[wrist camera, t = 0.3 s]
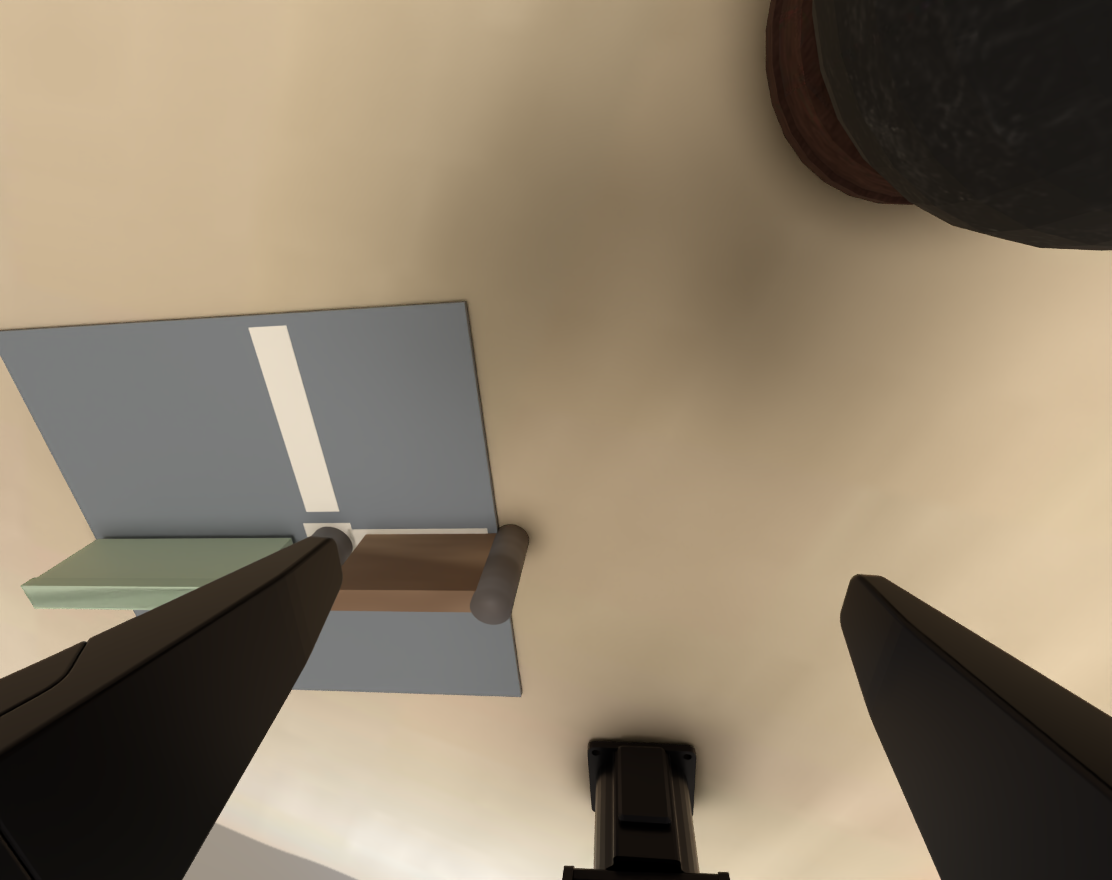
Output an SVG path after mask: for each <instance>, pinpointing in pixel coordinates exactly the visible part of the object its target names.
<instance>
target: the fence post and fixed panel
mask: <svg viewBox="0 0 1112 880" xmlns="http://www.w3.org/2000/svg"><path fill="white" fill-rule="evenodd" d="M312 536H324V537H332V538H333V539H335V541H336V543H337V546H338V551H339V556H340V561H341V567H342V572H343V581H342V585H341V588H340V591H339V593H338V595H337V597H336V599H335V602H334V604H333V606H332V608H331V611H392V612H471V613H472V614H473V616H474V617H475V618H476V619H478V620H479V621H481V622H483V623H485V624H490V625H498V624H502V623H504V622H506V621H507V620H508V619H509V618H510V616H511V613H512V609H513V605H514V601H515V597H516V593H517V589H518V585H519V581H520V577H521V573H522V569H523V565H524V561H525V556H526V552H527V548H528V544H529V537H528V535H527V533H526V532H525V531H524V530H523V529H522V528H520V527H518V526H515V525H505V526H502V527H500V528H499V529H498V532H497V533H488V534H366V535H365V536H364V537H363V539H362V540H361V541H360V543H359V544H358V545H357V547H356V548H355V549H354V551H353V546H352V542H351V540H350V538H349V537H348V536H347V535H346V534H345V533H344V532H343V531H341V530H339V529H337V528H334V527H321V528H319V529H317V530H316V531H315V532H314V533H313V534H312ZM352 551H353V552H352Z"/></svg>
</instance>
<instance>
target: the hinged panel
mask: <svg viewBox="0 0 1112 880" xmlns="http://www.w3.org/2000/svg"><path fill="white" fill-rule="evenodd" d="M292 544H293V542H292V539H291V538H182V539H97V540H95V541H94V542H92V543H90V544H89V545H87V546H86V547H84V548H83V549H81V550H79V551H78V552H76V553H75V554H73V555H72V556H70V557H69V558H67V559H65V560H64V561H62V562H61V563H59V564H58V565H56V566H54V567H53V568H51V569H50V570H48V571H47V572H45V573H44V574H42V575H40V576H39V577H37V578H32V579H31V580H29V581H27V582H26V583H24V584H23V585H21V587H22V589H23V590H24V592H25V594H26V595H27V597H28V598H29V600H30V602H31V603H32V605H33V607H34V608H35V609H106V610H152V609H154V608H156V607H158V606H160V605H163V604H165V603H167V602H169V601H171V600H173V599H176V598H178V597H180V596H182V595H184V594H186V593H188V592H191V591H193V590H195V589H197V588H199V587H201V586H204V585H206V584H208V583H210V582H212V581H214V580H216V579H219V578H221V577H223V576H225V575H227V574H229V573H232V572H234V571H236V570H238V569H240V568H242V567H245V566H247V565H249V564H251V563H253V562H255V561H257V560H260V559H262V558H264V557H266V556H268V555H270V554H273V553H275V552H277V551H279V550H281V549H283V548H285V547H288V546H290V545H292Z"/></svg>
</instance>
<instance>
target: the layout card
mask: <svg viewBox="0 0 1112 880" xmlns="http://www.w3.org/2000/svg"><path fill="white" fill-rule="evenodd" d="M0 356H1V358H2V360H3V361H4V363H5V365H6V367H7V369H8V371H9V373H10V375H11V377H12V379H13V381H14V383H15V385H16V386H17V388H18V390H19V392H20V394H21V396H22V398H23V400H24V402H25V404H26V406H27V408H28V409H29V411H30V413H31V415H32V417H33V419H34V421H35V423H36V425H37V427H38V429H39V431H40V432H41V434H42V436H43V438H44V440H45V442H46V444H47V446H48V448H49V450H50V452H51V454H52V455H53V457H54V459H55V461H56V463H57V465H58V467H59V469H60V471H61V473H62V475H63V477H64V478H65V480H66V482H67V484H68V486H69V488H70V490H71V492H72V494H73V496H74V498H75V500H76V501H77V503H78V505H79V507H80V509H81V511H82V513H83V515H84V517H85V519H86V521H87V523H88V524H89V526H90V528H91V530H92V532H93V534H94V536H95V538H96V540H97V539H182V538H291V539H292V542H293V544H294V543H296V542H298V541H301V540H303V539H305V538H307V537H309V536H312V534H313V533H314V532H315V531H316V530H317V529H319V528H321V527H334V528H337V529H339V530H341V531H343V532H344V533H345V534H346V535H347V536H348V537H349V538H350V540H351V542H352V546H353V551H354V549H355V548H356V547H357V545H358V544H359V543H360V541H361V540H362V539H363V537H364V536H365V535H366V534H488V533H497V532H498V529H499V528H498V521H497V514H496V507H495V500H494V493H493V486H492V479H491V472H490V465H489V458H488V451H487V444H486V437H485V430H484V423H483V416H482V409H481V402H480V395H479V388H478V381H477V374H476V367H475V360H474V353H473V346H472V339H471V332H470V325H469V318H468V311H467V304H466V301H462V302H446V303H430V304H414V305H398V306H382V307H367V308H351V309H335V310H319V311H303V312H287V313H271V314H255V315H240V316H224V317H208V318H192V319H176V320H160V321H144V322H129V323H113V324H97V325H81V326H65V327H49V328H33V329H18V330H2V331H0ZM353 551H352V552H353ZM133 611H134V613H135V615H136V617H137V616H139V615H141V614H143V613H145V612H147V611H150V610H133ZM292 690H323V691H353V692H384V693H414V694H445V695H475V696H506V697H521V695H522V690H521V683H520V675H519V668H518V661H517V654H516V647H515V640H514V633H513V626H512V619H511V616H510V618H509V619H508V620H507V621H506V622H504V623H502V624H498V625H490V624H485V623H483V622H481V621H479V620H478V619H476V618H475V617H474V616H473V614H472V613H471V612H392V611H330V613H329V615H328V617H327V620H326V622H325V624H324V626H323V629H322V631H321V633H320V635H319V638H318V640H317V642H316V644H315V647H314V649H313V651H312V653H311V655H310V657H309V659H308V661H307V663H306V665H305V667H304V669H303V671H302V672H301V674H300V676H299V678H298V680H297V681H296V683H295V685H294V686H293V688H292Z"/></svg>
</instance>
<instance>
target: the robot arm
mask: <svg viewBox="0 0 1112 880" xmlns="http://www.w3.org/2000/svg"><path fill="white" fill-rule="evenodd" d="M342 581H343V572H342V567H341V561H340V556H339V551H338V546H337V543H336V541H335V539H333V538H332V537H324V536H309V537H307V538H305V539H303V540H301V541H298V542H296V543H294V544H292V545H290V546H288V547H285V548H283V549H281V550H279V551H277V552H275V553H273V554H270V555H268V556H266V557H264V558H262V559H260V560H257V561H255V562H253V563H251V564H249V565H247V566H245V567H242V568H240V569H238V570H236V571H234V572H232V573H229V574H227V575H225V576H223V577H221V578H219V579H216V580H214V581H212V582H210V583H208V584H206V585H204V586H201V587H199V588H197V589H195V590H193V591H191V592H188V593H186V594H184V595H182V596H180V597H178V598H176V599H173V600H171V601H169V602H167V603H165V604H163V605H160V606H158V607H156V608H154V609H152V610H150V611H147V612H145V613H143V614H141V615H139V616H137V617H135V618H132V619H130V620H128V621H126V622H124V623H122V624H119V625H117V626H115V627H113V628H111V629H109V630H107V631H104V632H102V633H100V634H98V635H96V636H94V637H91V638H90V639H89V640H88V642H85V641H83V642H80V643H78V644H76V645H74V646H72V647H70V648H67V649H65V650H63V651H61V652H59V653H57V654H55V655H52V656H50V657H48V658H46V659H44V660H41V661H39V662H37V663H35V664H32V665H30V666H28V667H26V668H24V669H21V670H19V671H17V672H15V673H12V674H10V675H8V676H6V677H3V678H1V679H0V880H182V879H183V878H184V876H185V874H186V872H187V871H188V869H189V867H190V865H191V863H192V862H193V860H194V859H195V857H196V855H197V853H198V852H199V850H200V848H201V846H202V845H203V843H204V841H205V839H206V838H207V836H208V834H209V832H210V830H211V829H212V827H213V826H214V824H215V822H216V820H217V819H218V817H219V815H220V813H221V812H222V810H223V808H224V806H225V805H226V803H227V801H228V799H229V798H230V796H231V794H232V793H233V791H234V789H235V787H236V786H237V784H238V782H239V780H240V779H241V777H242V775H243V773H244V772H245V770H246V768H247V766H248V765H249V763H250V761H251V759H252V758H253V756H254V754H255V753H256V751H257V749H258V747H259V746H260V744H261V742H262V740H263V739H264V737H265V735H266V733H267V732H268V730H269V728H270V726H271V725H272V723H273V721H274V720H275V718H276V716H277V714H278V713H279V711H280V709H281V707H282V706H283V704H284V702H285V700H286V699H287V697H288V695H289V693H290V692H291V690H292V688H293V686H294V685H295V683H296V681H297V680H298V678H299V676H300V674H301V672H302V671H303V669H304V667H305V665H306V663H307V661H308V659H309V657H310V655H311V653H312V651H313V649H314V647H315V644H316V642H317V640H318V638H319V635H320V633H321V631H322V629H323V626H324V624H325V622H326V620H327V617H328V615H329V613H330V611H331V608H332V606H333V604H334V602H335V599H336V597H337V595H338V593H339V591H340V588H341V585H342ZM840 623H841V628H842V631H843V634H844V637H845V641H846V644H847V647H848V650H849V653H850V656H851V660H852V663H853V666H854V669H855V672H856V675H857V678H858V682H859V685H860V688H861V691H862V694H863V697H864V700H865V703H866V706H867V709H868V712H869V715H870V717H871V720H872V722H873V725H874V727H875V729H876V732H877V734H878V736H879V739H880V741H881V743H882V746H883V748H884V750H885V752H886V755H887V757H888V759H889V762H890V764H891V766H892V768H893V771H894V773H895V775H896V778H897V780H898V782H899V784H900V787H901V789H902V791H903V794H904V796H905V798H906V800H907V803H908V805H909V807H910V810H911V812H912V814H913V816H914V819H915V821H916V823H917V826H918V828H919V830H920V832H921V835H922V837H923V839H924V842H925V844H926V846H927V848H928V851H929V853H930V855H931V858H932V860H933V862H934V864H935V867H936V869H937V871H938V874H939V876H940V878H941V880H1112V717H1111V716H1109V715H1108V714H1106V713H1104V712H1103V711H1101V710H1100V709H1098V708H1096V707H1095V706H1093V705H1091V704H1090V703H1088V702H1087V701H1085V700H1083V699H1082V698H1080V697H1078V696H1077V695H1075V694H1073V693H1072V692H1070V691H1069V690H1067V689H1065V688H1064V687H1062V686H1060V685H1059V684H1057V683H1055V682H1054V681H1052V680H1051V679H1049V678H1047V677H1046V676H1044V675H1042V674H1041V673H1039V672H1038V671H1036V670H1034V669H1033V668H1031V667H1029V666H1028V665H1026V664H1024V663H1023V662H1021V661H1020V660H1018V659H1016V658H1015V657H1013V656H1011V655H1010V654H1008V653H1007V652H1005V651H1003V650H1002V649H1000V648H998V647H997V646H995V645H993V644H992V643H990V642H989V641H987V640H985V639H984V638H982V637H980V636H979V635H977V634H975V633H974V632H972V631H971V630H969V629H967V628H966V627H964V626H962V625H961V624H959V623H958V622H956V621H954V620H953V619H951V618H949V617H948V616H946V615H944V614H943V613H941V612H940V611H938V610H936V609H935V608H933V607H931V606H930V605H928V604H927V603H925V602H923V601H922V600H920V599H918V598H917V597H915V596H913V595H912V594H910V593H909V592H907V591H905V590H904V589H902V588H900V587H899V586H897V585H896V584H894V583H892V582H891V581H889V580H887V579H886V578H884V577H882V576H877V575H863V574H857V575H855V576H853V577H852V578H851V580H850V583H849V586H848V589H847V593H846V596H845V599H844V603H843V606H842V609H841V613H840ZM588 765H589V778H590V791H591V805H592V810H593V811H594V812H595V837H594V869H583V868H574V866H564V871H563V878H562V880H730V877H729V873H728V872H718V874H706V873H700V872H699V865H698V857H697V850H696V842H695V834H694V827H693V819H692V816H693V808H694V788H695V769H696V753H695V749H694V748H693V747H692V746H690V745H674V744H651V743H628V742H604V741H592V742H590V743H589V744H588Z"/></svg>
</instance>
